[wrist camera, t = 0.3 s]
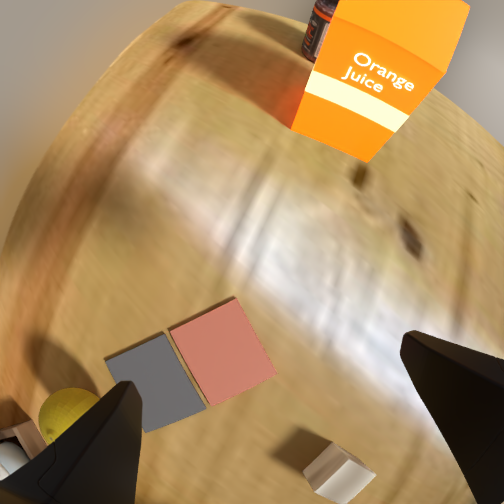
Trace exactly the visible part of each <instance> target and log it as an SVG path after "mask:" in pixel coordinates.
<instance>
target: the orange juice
mask: <svg viewBox="0 0 504 504" xmlns="http://www.w3.org/2000/svg"><path fill="white" fill-rule="evenodd" d="M469 8H470V6H468V5H467V4H466V3H464V2H463V1H462V0H340V1H339V3H338V6H337V8H336V10H335V12H334V15H333V17H332V20H331V23H330V26H329V28H328V31H327V33H326V36H325V38H324V42H323V44H322V47H321V50H320V52H319V55H318V57H317V60H316V62H315V65H314V67H313V70H312V72H311V75H310V78H309V80H308V83H307V86H306V88H305V92H304V95H303V98H302V101H301V103H300V106H299V109H298V111H297V114H296V117H295V120H294V122H293V125H292V128H291V130H292V131H295V132H298V133H300V134H303V135H305V136H308V137H310V138H313V139H315V140H318V141H320V142H322V143H325V144H327V145H330V146H332V147H334V148H336V149H339V150H341V151H343V152H345V153H348V154H350V155H352V156H354V157H356V158H358V159H360V160H363V161H365V162H367V163H368V161H369V160H370V159H371V158H372V157H373V156H374V155H375V154H376V152H377V151H378V150H379V149H380V148H381V147H382V146H383V145H384V144H385V142H386V141H387V140H388V139H389V138H390V137H391V136H392V134H393V133H394V132H396V131H397V130H398V129H399V127H400V126H401V125H402V124H403V123H404V122H405V121H406V119H407V118H408V117H409V115H410V114H411V113H412V112H413V110H414V109H415V108H416V107H417V106H418V105H419V103H420V102H421V101H422V100H423V99H424V98H425V97H426V95H427V94H428V93H429V92H430V91H431V89H432V88H433V87H434V86H435V85H436V84H437V82H438V81H439V80H440V79H441V78H442V76H443V75H444V74H445V73H446V69H447V67H448V65H449V62H450V60H451V58H452V55H453V53H454V50H455V47H456V45H457V42H458V40H459V37H460V34H461V32H462V29H463V26H464V23H465V20H466V17H467V15H468V12H469Z"/></svg>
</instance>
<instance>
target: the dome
mask: <svg viewBox="0 0 504 504" xmlns="http://www.w3.org/2000/svg"><path fill="white" fill-rule="evenodd" d="M29 461H30V458H29V457H28V455H27V454H26V452H25V451H24V450H22V449H21V448H20V447H19V446H18V445H16V444H14V443H12V442H9V441H6V442H3V443H1V444H0V480H3V479H4V478H6V477H7V476H9V475H10V474H12V473H13V472H15V471H16V470H17V469H19V468H20V467H22V466H23V465H25V464H26V463H27V462H29Z"/></svg>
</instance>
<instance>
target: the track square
mask: <svg viewBox="0 0 504 504" xmlns="http://www.w3.org/2000/svg"><path fill="white" fill-rule="evenodd" d="M105 362H106V364H107V366H108V368H109V370H110V372H111V374H112V376H113V378H114V380H115V382H116V384H117V383H119V382H120V381H128V380H130V381H133V382H134V384H135V386H136V388H137V390H138V392H139V394H140V396H141V398H142V402H143V407H142V428H143V430H144V431H145V433H147V432H150V431H152V430H155V429H158V428H161V427H163V426H166V425H169V424H171V423H174V422H176V421H179V420H181V419H184V418H186V417H189V416H191V415H193V414H196V413H198V412H200V411H203V410H205V409H206V406H205V405H204V403H203V401H202V400H201V398H200V396H199V395H198V393H197V391H196V390H195V388H194V386H193V385H192V383H191V381H190V379H189V378H188V376H187V374H186V372H185V370H184V369H183V367H182V365H181V363H180V361H179V360H178V358H177V356H176V354H175V352H174V350H173V348H172V346H171V344H170V342H169V341H168V339H167V337H166V335H165V334H163V335H161V336H159V337H157V338H155V339H153V340H151V341H149V342H146V343H144V344H142V345H140V346H138V347H136V348H134V349H131V350H129V351H127V352H125V353H123V354H121V355H118V356H116V357H114V358H112V359H110V360H107V361H105Z"/></svg>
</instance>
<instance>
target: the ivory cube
mask: <svg viewBox="0 0 504 504" xmlns="http://www.w3.org/2000/svg"><path fill="white" fill-rule="evenodd" d="M302 472H303V474H304V475H305V477H306V479H307V481H308V482H309V484H310V486H311V487H312V489H313V491H314V492H315V493H317V494H319V495H321V496H323V497H325V498H328V499H330V500H332V501H334V502H336V503H339V504H347V503H348V502H349V501H350V500H351V499H352V498H353V497H355V496H356V495H357V494H358V493H359V492H360V491H361V490H362V489H363V488H364V487H365V486H366V485H367V484H368V483H369V482H370V481H371V480H372V479H373V478H374V477H375V476H376V474H375V473H374V472H373V471H372V470H371V469H369V468H368V467H367V466H366V465H365V464H364V463H363V462H362V461H361V460H360V459H359V458H357V457H355V456H354V455H352V454H351V453H349V452H347V451H346V450H344V449H343V448H341V447H340V446H338V445H336V444H335V443H333V442H332V443H331V444H330V445H329V446H328V447H327V448H326V449H325V450H324V451H323V452H322V453H321V454H320V455H319V456H318V457H317V458H316V459H315V460H314V461H313V462H312V463H311V464H309V465H308V466H307V467H306V468H305V469H304V470H303V471H302Z"/></svg>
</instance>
